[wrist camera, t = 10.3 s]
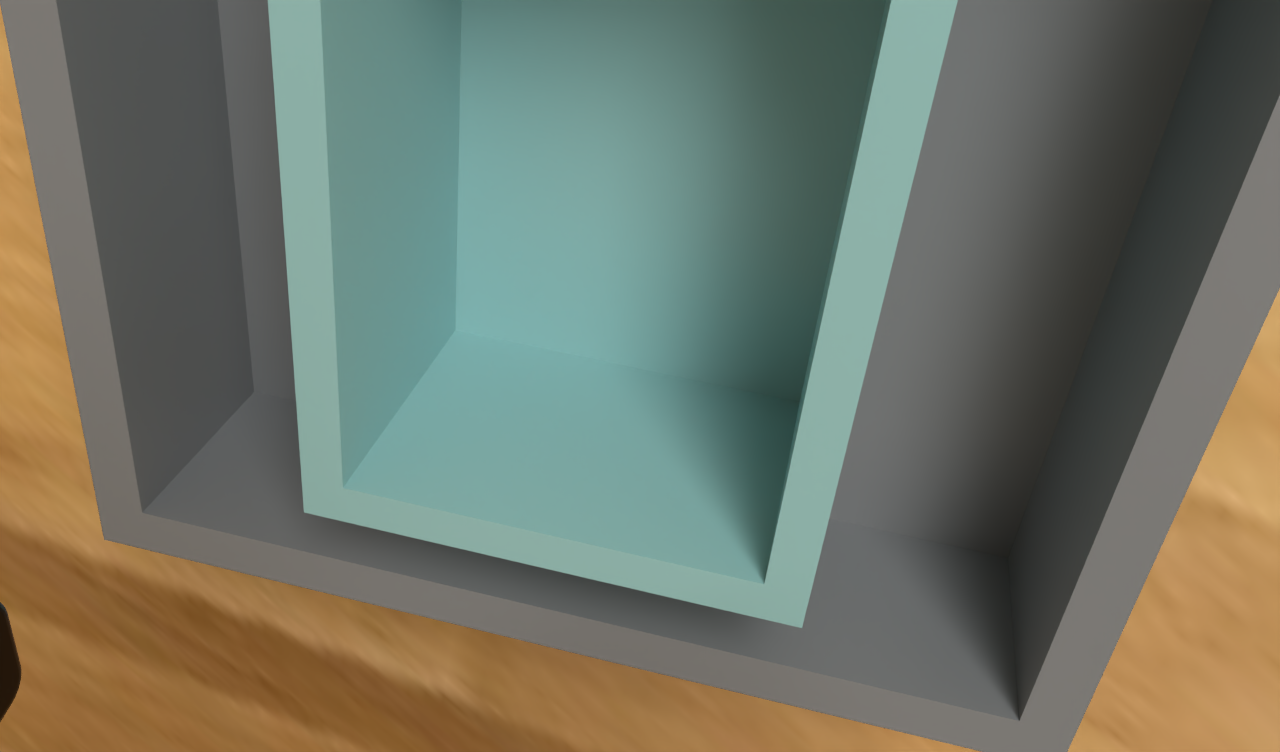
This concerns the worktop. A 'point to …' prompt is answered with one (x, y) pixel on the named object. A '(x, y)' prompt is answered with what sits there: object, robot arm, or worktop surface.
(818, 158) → the teal crate
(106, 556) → the worktop surface
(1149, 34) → the charcoal crate
